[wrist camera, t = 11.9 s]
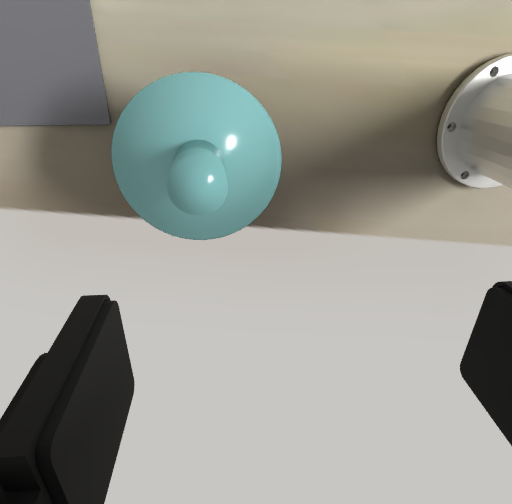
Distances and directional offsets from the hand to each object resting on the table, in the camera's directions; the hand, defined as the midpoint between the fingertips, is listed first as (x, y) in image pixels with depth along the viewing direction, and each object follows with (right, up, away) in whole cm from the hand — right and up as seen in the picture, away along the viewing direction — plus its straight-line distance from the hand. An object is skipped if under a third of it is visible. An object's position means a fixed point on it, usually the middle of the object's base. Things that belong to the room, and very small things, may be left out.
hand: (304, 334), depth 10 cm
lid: (-5, +9, +18) cm, 21 cm away
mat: (-20, +18, +20) cm, 34 cm away
